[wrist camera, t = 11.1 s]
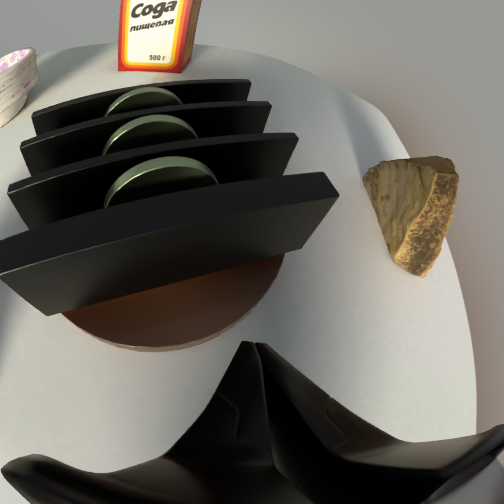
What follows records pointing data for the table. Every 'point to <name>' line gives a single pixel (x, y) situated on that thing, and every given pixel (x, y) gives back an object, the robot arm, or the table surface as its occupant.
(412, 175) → the rock
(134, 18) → the baking soda box
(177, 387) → the table surface
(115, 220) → the dish rack
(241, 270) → the base
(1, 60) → the paper bowls
